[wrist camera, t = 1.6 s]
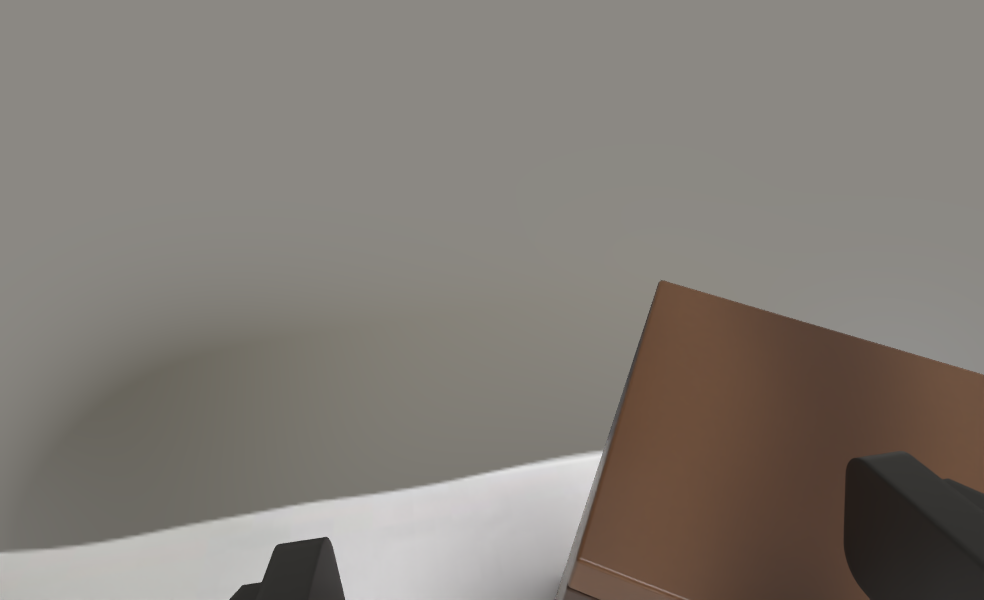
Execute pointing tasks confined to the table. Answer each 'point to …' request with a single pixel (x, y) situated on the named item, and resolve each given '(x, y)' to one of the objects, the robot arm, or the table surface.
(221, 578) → the table surface
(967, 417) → the walnut shelf
